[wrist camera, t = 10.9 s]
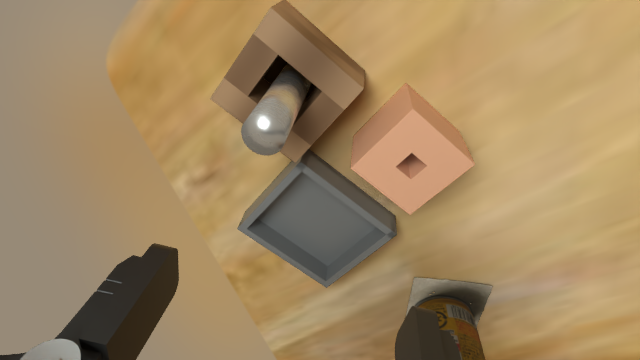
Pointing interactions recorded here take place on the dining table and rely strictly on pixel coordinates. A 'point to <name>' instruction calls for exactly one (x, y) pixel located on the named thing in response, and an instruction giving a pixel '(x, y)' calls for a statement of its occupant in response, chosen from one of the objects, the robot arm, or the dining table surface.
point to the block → (409, 151)
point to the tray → (318, 220)
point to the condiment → (454, 310)
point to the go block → (306, 57)
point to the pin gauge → (275, 113)
